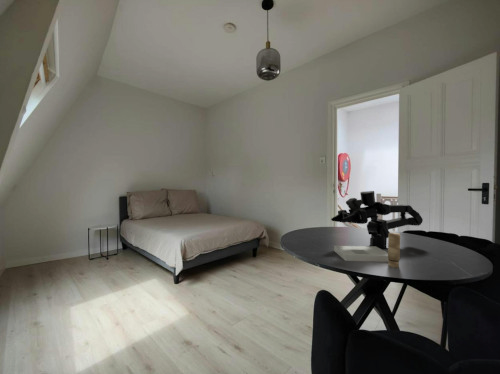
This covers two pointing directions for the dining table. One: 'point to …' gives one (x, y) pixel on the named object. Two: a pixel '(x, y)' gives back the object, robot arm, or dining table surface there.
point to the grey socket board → (361, 253)
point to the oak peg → (393, 250)
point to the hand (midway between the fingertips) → (336, 220)
